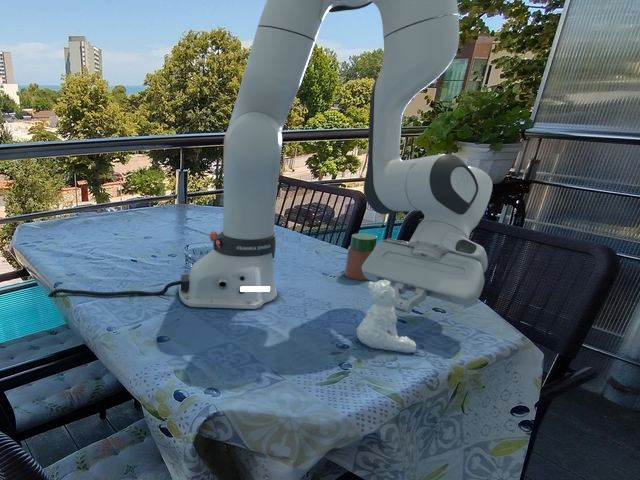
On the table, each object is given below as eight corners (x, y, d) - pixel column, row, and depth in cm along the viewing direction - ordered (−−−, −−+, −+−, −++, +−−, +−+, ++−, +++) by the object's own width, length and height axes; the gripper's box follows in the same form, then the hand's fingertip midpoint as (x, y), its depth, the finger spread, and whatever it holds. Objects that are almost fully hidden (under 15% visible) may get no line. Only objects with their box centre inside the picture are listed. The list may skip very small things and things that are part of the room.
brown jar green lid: (351, 280, 112) (356, 240, 108) (340, 271, 118) (345, 233, 114) (377, 279, 113) (383, 239, 109) (365, 270, 118) (371, 232, 115)
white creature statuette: (418, 354, 80) (432, 289, 75) (369, 357, 79) (380, 292, 75) (389, 329, 88) (399, 270, 84) (345, 332, 88) (353, 272, 83)
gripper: (377, 228, 92) (343, 285, 91) (494, 250, 77) (457, 319, 76) (384, 245, 97) (352, 300, 95) (498, 269, 82) (462, 335, 80)
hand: (400, 309), depth 85 cm, fingers closed
